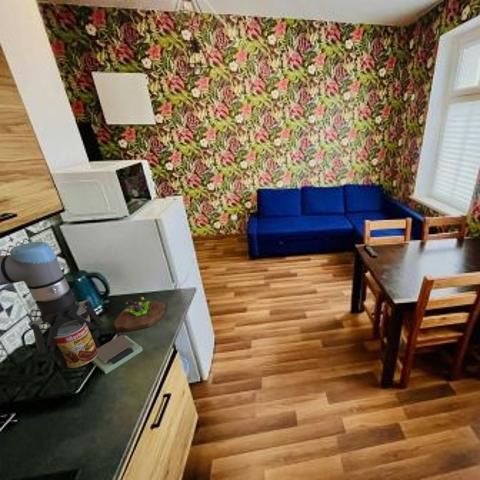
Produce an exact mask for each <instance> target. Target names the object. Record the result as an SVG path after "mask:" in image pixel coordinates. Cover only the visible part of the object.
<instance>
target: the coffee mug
mask: <svg viewBox="0 0 480 480" xmlns="http://www.w3.org/2000/svg"><path fill="white" fill-rule="evenodd" d="M77 314H78V315H80V316H81V317H83V318H84V319H86V320H88V321H89V322H91V321H92V320H91V316H90V314H89V313H88V312H87V310H86V309H85V308H82V307H81V306H80V307H79V309H78V311H77ZM73 320H75V319H74V318H73V319H72V320H70V321H73ZM70 321H67V322H70ZM67 322H65V323H67ZM91 323H92V322H91ZM88 329H90V328H89V327H88Z"/></svg>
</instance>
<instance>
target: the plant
mask: <svg viewBox="0 0 480 480" xmlns="http://www.w3.org/2000/svg"><path fill="white" fill-rule="evenodd" d="M139 300H141V301H140V302H139ZM142 301H144V302H142ZM129 303H131V304H130V305H128V304H129ZM124 304H125V305H128V306H126V307H125V308H124V309H123V310H122V311H121V312H120V313H119V315H118V316H117V317H116V319H115V320H114V321H113V326H114V328H115V330H116V332H120V331H124V332H126V333H127V332H133V331H137V330H141V329H147V328H151V327H152V326H153V325H154V324H156V323H157V322H159V321H160V320H161V319H162V317H163V316H164V315H165V314H166V310H165V309H166V307H167V305H166V302H163V301H156V300H153V301H150V300H148V301H145V297H144V296H138V297H137V298H136V299H135V301H132V300H125V302H124Z"/></svg>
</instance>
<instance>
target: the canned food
mask: <svg viewBox="0 0 480 480" xmlns="http://www.w3.org/2000/svg"><path fill="white" fill-rule="evenodd" d="M54 338H55V340H56V346H57V347H58V348H59V349H60V351H61V353H62V355H63V357H64V359H65V361H66V363H67V366H66V367H67V368H70V369H75V368H79V367H82V366H85V365H88V363H90V362H91V361H92V360H93V359H94V358H95V357H96V356H97V355H98V349H97V347H96V344H95V342H94V340H93V338H92V335H91V333H90V331H89V329H88V327H87V325H86V323H84V324H82V323H81V322H79V321H77V320H73V321H70V322H67V323H66V322H65V323H63V324H61V325H60V326H59V329H58V335H57V337H54Z"/></svg>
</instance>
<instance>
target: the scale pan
mask: <svg viewBox="0 0 480 480" xmlns="http://www.w3.org/2000/svg"><path fill="white" fill-rule="evenodd" d="M124 336H125V335H123V334H120V335H119V336H116V337H114V338H113V339H112V340H110V341H108V342H106V343H105V344H102V345H100V348H97V349H98V355H97V357H98V358H99V359H100V360H101V361H102V362H103V363H104V364H105V363H107V362H108V361H110V360H111V359H112V358H114V357H116V356H117V355H119V354H121V353H122V352H124V351H126V350H127V349H129V348H131V347H133V346H135V345H134V344H133V343H132V342H131V341H129V340H128V339H127V338H125V337H124Z"/></svg>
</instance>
